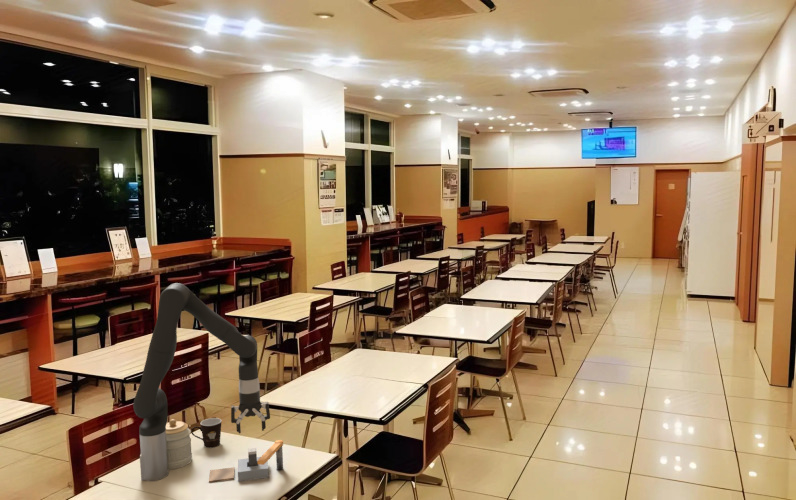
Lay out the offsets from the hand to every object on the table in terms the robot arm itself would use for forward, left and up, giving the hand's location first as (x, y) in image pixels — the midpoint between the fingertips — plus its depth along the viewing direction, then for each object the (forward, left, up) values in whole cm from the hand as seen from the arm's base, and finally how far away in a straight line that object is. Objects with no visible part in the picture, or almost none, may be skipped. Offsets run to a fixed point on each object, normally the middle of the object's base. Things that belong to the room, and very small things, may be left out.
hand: (251, 431), depth 231 cm
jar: (-30, +18, -17) cm, 39 cm away
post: (+10, 0, -16) cm, 19 cm away
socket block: (0, 0, -16) cm, 16 cm away
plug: (0, 0, -16) cm, 16 cm away
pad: (-12, +1, -16) cm, 20 cm away
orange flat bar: (+7, -7, -7) cm, 12 cm away
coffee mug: (-18, +32, -17) cm, 40 cm away
